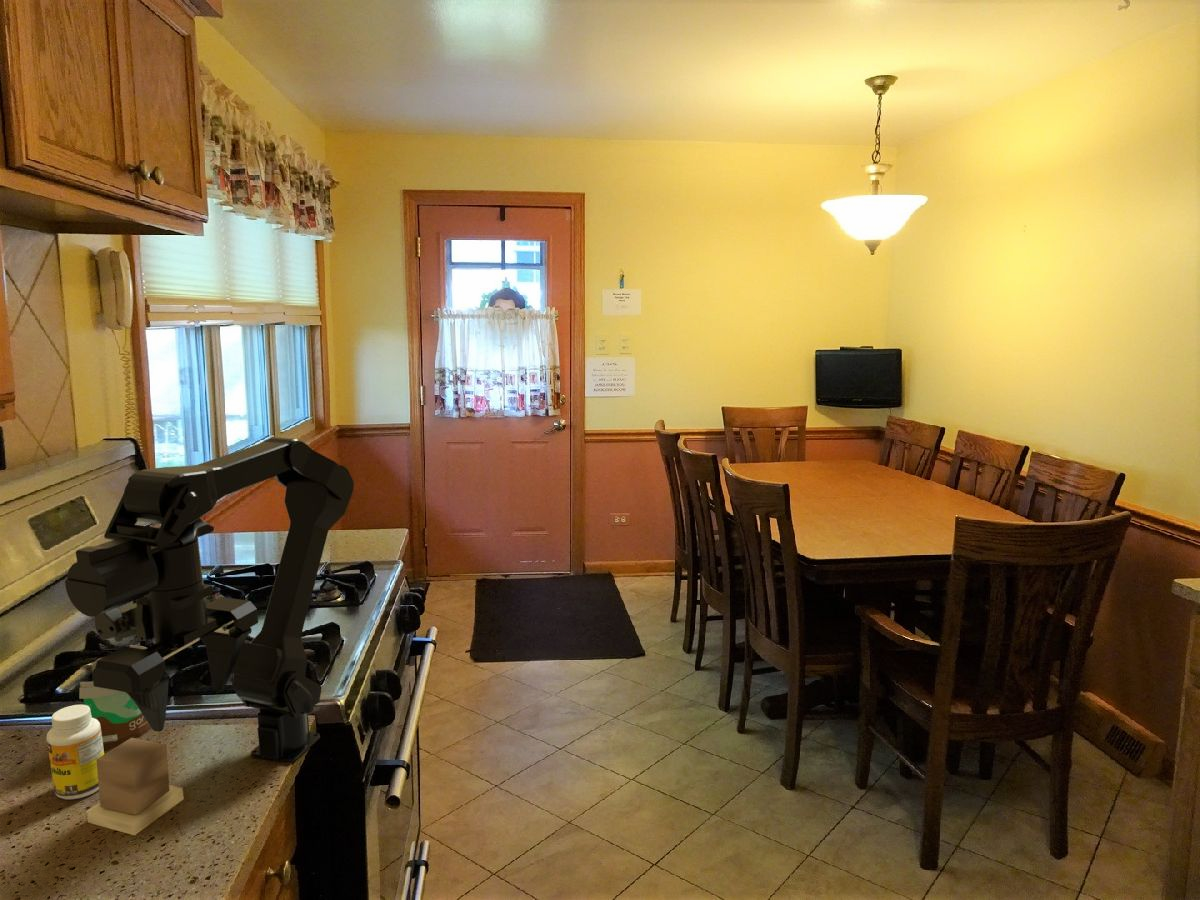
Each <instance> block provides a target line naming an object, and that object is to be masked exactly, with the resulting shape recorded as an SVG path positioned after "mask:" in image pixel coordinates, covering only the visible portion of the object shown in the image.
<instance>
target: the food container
mask: <svg viewBox="0 0 1200 900" xmlns="http://www.w3.org/2000/svg"><path fill="white" fill-rule="evenodd" d="M129 647H132V648H138V649H144V650H145V649H147V648H148V647H146V646H142V645H136V644H135V645H134V644H130V645H129ZM79 685H80V687H79V693H78V694H79V700H81V699H82V700H83V703H84V704H83V705H87V706H89V707H90V711H91V715H92V718H95V719H97V720H98V721H99V723H100V726H101V734H102V741H103V748H108V747H114V746H115V747H117V746H119V745H120V744H122V743H124V742H125V741H127V740H128V739H130V738H136V739H139V738H141V737H142V736H144V735H145V734H147V733H148V732H149V731H150V730H151V729H152V728H151V726H150V725H149V723H148V722H147V720H146V719H145V717H144V715H143V714H142V712H141V711H140V709H139V708H138V706H137V705H136V703H135V702H134V701H133V700H132V698H131V697H130V696H129V695H128V694H127V693H126V692H122V691H117V690H111V689H106V688H100V687H94V684H93V680H92V681H80V682H79Z"/></svg>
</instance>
